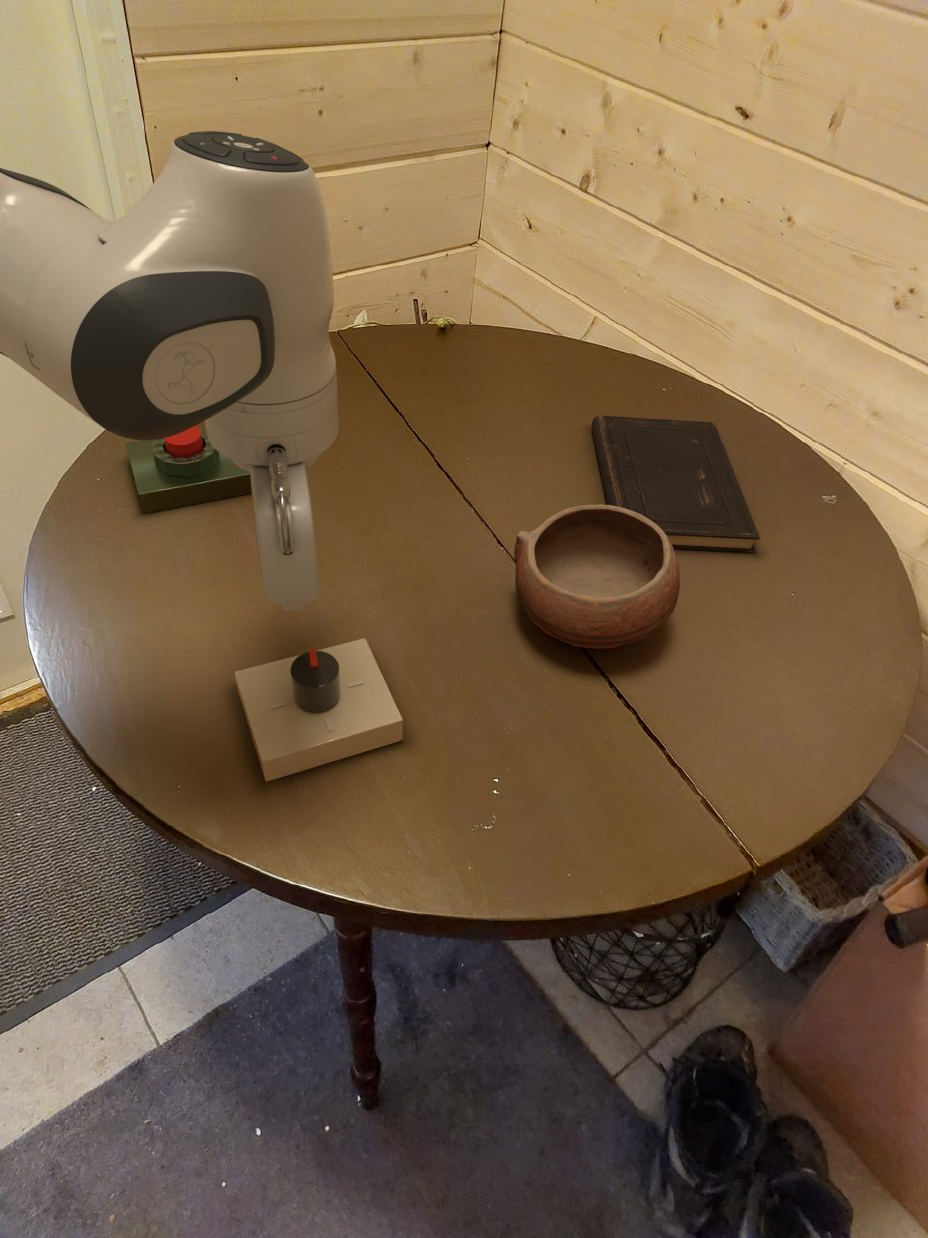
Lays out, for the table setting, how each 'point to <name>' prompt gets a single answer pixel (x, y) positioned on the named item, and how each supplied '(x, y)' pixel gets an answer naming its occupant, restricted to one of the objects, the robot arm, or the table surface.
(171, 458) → the button box
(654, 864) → the table surface
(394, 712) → the hob panel
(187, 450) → the red push button
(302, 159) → the robot arm
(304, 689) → the hob knob
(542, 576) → the bowl
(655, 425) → the old dark book
